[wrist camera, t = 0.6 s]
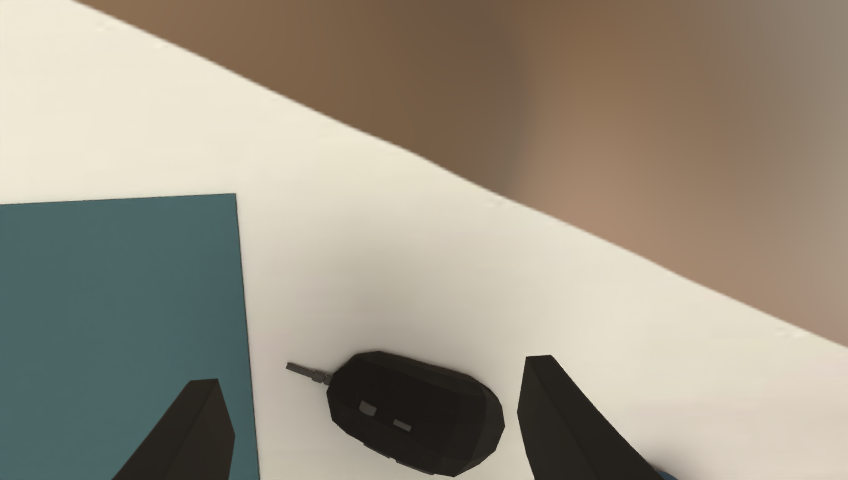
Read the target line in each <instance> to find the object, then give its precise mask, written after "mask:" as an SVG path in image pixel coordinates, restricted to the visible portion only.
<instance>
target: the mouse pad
mask: <svg viewBox="0 0 848 480" xmlns="http://www.w3.org/2000/svg"><path fill="white" fill-rule="evenodd" d="M216 378H218V381H219V384H220V387H221V390H222V394H223V397H224V400H225V403H226V406H227V410H228V413H229V416H230V419H231V422H232V426H233V429H234V432H235V435H236V436H235V442H234V449H233V456H232V462H231V468H230V474H229V480H260V479H259V467H258V455H257V443H256V431H255V420H254V408H253V396H252V384H251V372H250V360H249V349H248V337H247V325H246V313H245V301H244V290H243V278H242V266H241V254H240V242H239V230H238V219H237V207H236V195H235V194H215V195H194V196H173V197H152V198H131V199H111V200H90V201H69V202H48V203H27V204H6V205H0V480H111V479H112V478H113V477H114V476H115V475H116V474H117V472H118V471H119V470H120V469H121V468H122V466H123V465H124V464H125V463H126V461H127V460H128V459H129V458H130V456H131V455H132V454H133V453H134V451H135V450H136V449H137V448H138V447H139V445H140V444H141V443H142V442H143V440H144V439H145V438H146V437H147V435H148V434H149V433H150V431H151V430H152V429H153V428H154V426H155V425H156V424H157V422H158V421H159V420H160V418H161V417H162V416H163V415H164V413H165V412H166V411H167V409H168V408H169V407H170V405H171V404H172V403H173V401H174V400H175V399H176V397H177V396H178V395H179V393H180V392H181V391H182V389H183V388H184V387H185V385H186V384H187V383H188V382H189V381H190V380H202V379H216Z"/></svg>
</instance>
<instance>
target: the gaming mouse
mask: <svg viewBox="0 0 848 480" xmlns="http://www.w3.org/2000/svg"><path fill="white" fill-rule="evenodd" d="M286 369H288V370H291V371H294V372H297V373H300V374H302V375H305V376H308V377H311V378H312V380H313V381H316V382H319V383H322V382H323V383H324V384H326V385H328V386H329V387H328V390H327V398H328V403H329V408H330V413H331V418H332V421H334V422H335V423H336V424H337V425H338V426H339V427H340V428H341V429H342V430H343V431H345V432H346V433H347V434H348V435H350V436H352V437H354V438H356V439H358V440H359V441H361V442H362V443H364V444H363V445H365V446H366V447H368V448H370V449H372V450H374V451H376V452H378V453H380V454H381V455H383V456H385V457H387V458H390V457H391V458H393V459H395V460H396V462H397V463H400V464H402V465H405V466H407V467H410V468H413V469H415V470H418V471H420V472H423V473H426V474H429V475H434V474H439V475H445V476H450V477H455V476H457V475H459V474H461V473H463V472H465V471H467V470H469V469H471V468H473V467H475V466H477V465H479V464H480V463H481V462H482V461H484V460H485V459H486V458H487V457H488V456H490V455H491V454H492V453H493V452H494V451H495V450H496V448H497V445H498V443H499V440H500V438H501V435H502V433H503V430H504V428H505V423H504V417H503V410H502V406H501V404H500V402H499V400H498V398H497V397H496V396H495V394H494V393H493V392H492V391H491V390H490V389H489V388H487V387H486V386H484V385H483V384H481V383H480V382H478V381H477V380H475V379H474V378H472V377H471V376H468V375H465V374H462V373H458V372H455V371H452V370H449V369H445V368H441V367H436V366H432V365H429V364H425V363H422V362H419V361H415V360H412V359H409V358H405V357H401V356H397V355H393V354H389V353H384V352H380V351H377V352H370V353H363V354H356V355H354V356H353V357H352V358H351V359H350V360H349V361H348V362H347V363H346V364H345V365H344V366H343V367H341V368H340V369H339V370H338V371H336V372H335V373H334V374H333V377H331V376H328V375H327V376H325V374H324V373H321V372H318V371H315V372H312V371H309V370H307V369H304V368H301V367H298V366H296V365H293V364H290V363H288V364H287V366H286Z"/></svg>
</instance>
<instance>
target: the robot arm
mask: <svg viewBox="0 0 848 480" xmlns="http://www.w3.org/2000/svg"><path fill="white" fill-rule="evenodd" d="M517 415H518V420H519V424H520V429H521V433H522V438H523V442H524V446H525V451H526V455H527V458H528V461H529V464H530V467H531V469H532V472H533V475H534V478H535V480H666V479H665V478H663V477H662V476H661V475H660V474H659V473H658V472H657V471H656V470H655V469H654V468H653V467H652V466H651V465H650V464H649V463H648V462H647V461H646V460H645V459H644V458H643V457H642V456H641V455H640V454H639V453H638V452H637V451H636V450H635V449H634V448H633V447H632V446H631V445H630V444H629V443H628V442H627V441H626V440H625V439H624V438H623V437H622V436H621V435H620V434H619V433H618V432H617V431H616V429H615V428H614V427H613V426H612V425H611V424H610V423H609V422H608V421H607V420H606V419H605V417H604V416H603V415H602V414H601V413H600V412H599V411H598V410H597V409H596V407H595V406H594V405H593V404H592V403H591V402H590V401H589V399H588V398H587V397H586V396H585V395H584V394H583V392H582V391H581V390H580V389H579V388H578V386H577V385H576V384H575V383H574V382H573V380H572V379H571V378H570V377H569V376H568V374H567V373H566V372H565V371H564V369H563V368H562V367H561V366H560V365H559V363H558V362H557V361H556V360H555V358H554V357H553V356H551V355H542V356H528V357H526V360H525V366H524V373H523V379H522V385H521V391H520V397H519V403H518V410H517ZM235 436H236V435H235V432H234V429H233V426H232V422H231V419H230V416H229V413H228V410H227V406H226V403H225V400H224V397H223V394H222V390H221V387H220V384H219V381H218V378H216V379H202V380H190V381H189V382H188V383H187V384H186V385H185V387H184V388H183V389H182V391H181V392H180V393H179V395H178V396H177V397H176V399H175V400H174V401H173V403H172V404H171V405H170V407H169V408H168V409H167V411H166V412H165V413H164V415H163V416H162V417H161V418H160V420H159V421H158V422H157V424H156V425H155V426H154V428H153V429H152V430H151V431H150V433H149V434H148V435H147V437H146V438H145V439H144V440H143V442H142V443H141V444H140V445H139V447H138V448H137V449H136V450H135V451H134V453H133V454H132V455H131V456H130V458H129V459H128V460H127V461H126V463H125V464H124V465H123V466H122V468H121V469H120V470H119V471H118V472H117V474H116V475H115V476H114V477H113V478H112V479H111V480H229V474H230V468H231V462H232V456H233V449H234V442H235Z"/></svg>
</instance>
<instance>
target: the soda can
mask: <svg viewBox="0 0 848 480" xmlns="http://www.w3.org/2000/svg"><path fill="white" fill-rule="evenodd" d="M656 471H657V470H656ZM657 472H658V473H659V474H660V475H661V476H662V477H663V478H665V479H666V480H677V479H676V478H675V477H673V476H672V475H670V474H667V473H665V472H662V471H657Z"/></svg>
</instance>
